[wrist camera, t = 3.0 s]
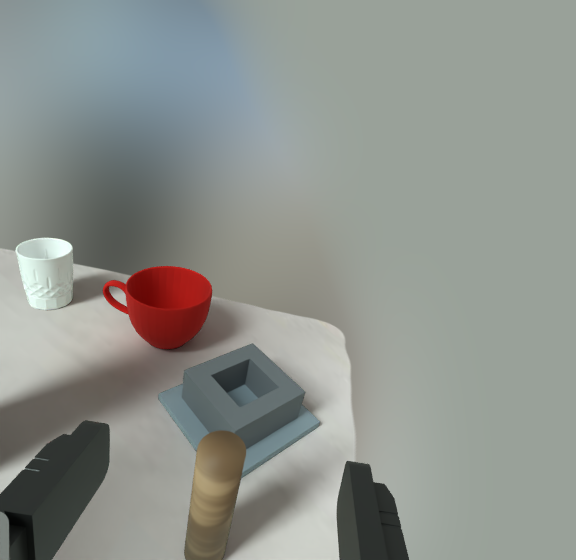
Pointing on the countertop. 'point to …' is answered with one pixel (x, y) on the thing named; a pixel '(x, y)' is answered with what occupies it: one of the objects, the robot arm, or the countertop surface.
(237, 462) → the wooden cylinder
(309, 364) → the countertop surface
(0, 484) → the countertop surface
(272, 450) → the socket block
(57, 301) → the white cup
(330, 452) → the countertop surface
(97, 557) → the countertop surface
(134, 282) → the ceramic cup
